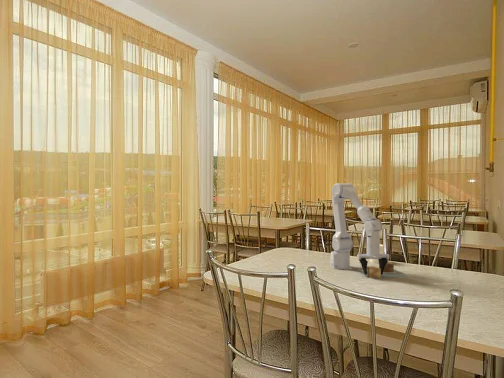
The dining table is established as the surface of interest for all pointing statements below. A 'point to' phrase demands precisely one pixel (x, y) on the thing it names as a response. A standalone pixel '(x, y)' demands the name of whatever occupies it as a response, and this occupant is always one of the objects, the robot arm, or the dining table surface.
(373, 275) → the oak block
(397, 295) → the dining table surface
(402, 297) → the dining table surface
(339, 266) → the robot arm
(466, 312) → the dining table surface
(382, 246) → the white cup
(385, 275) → the build board
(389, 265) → the walnut block
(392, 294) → the dining table surface
